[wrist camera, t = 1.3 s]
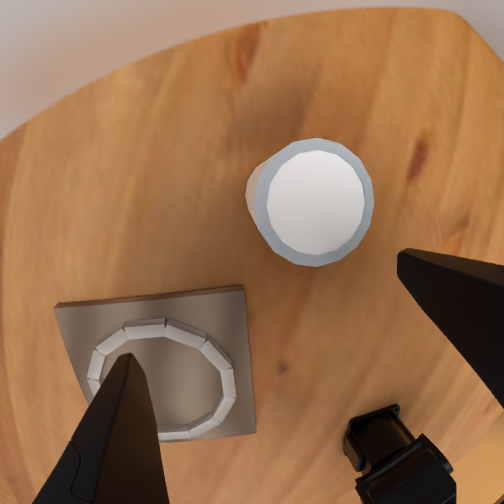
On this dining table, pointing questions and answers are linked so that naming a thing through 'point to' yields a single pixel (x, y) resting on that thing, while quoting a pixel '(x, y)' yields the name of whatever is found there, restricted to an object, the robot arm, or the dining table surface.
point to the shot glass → (311, 201)
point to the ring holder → (171, 356)
